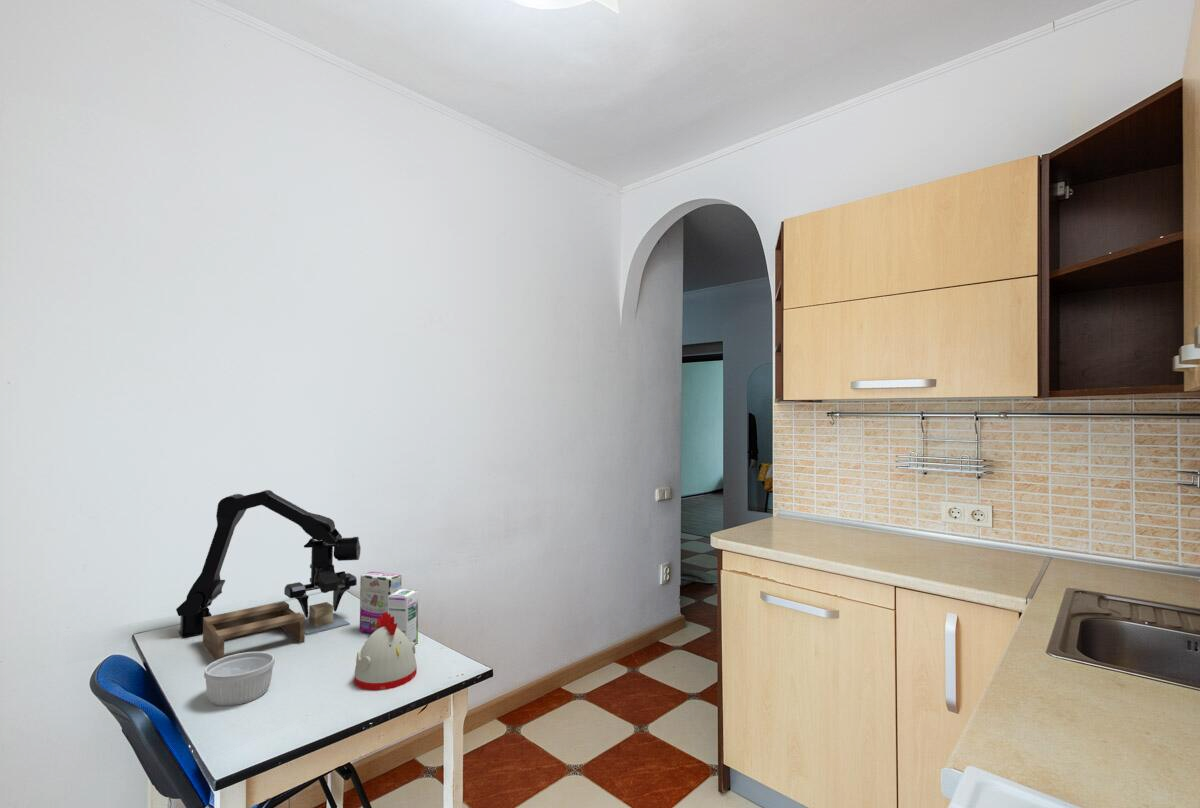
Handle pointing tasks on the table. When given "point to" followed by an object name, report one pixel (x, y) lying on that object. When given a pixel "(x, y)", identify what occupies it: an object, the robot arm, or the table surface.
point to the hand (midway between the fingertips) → (320, 614)
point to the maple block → (320, 614)
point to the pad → (336, 623)
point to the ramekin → (239, 678)
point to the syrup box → (405, 612)
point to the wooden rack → (250, 625)
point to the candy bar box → (375, 598)
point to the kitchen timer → (385, 658)
